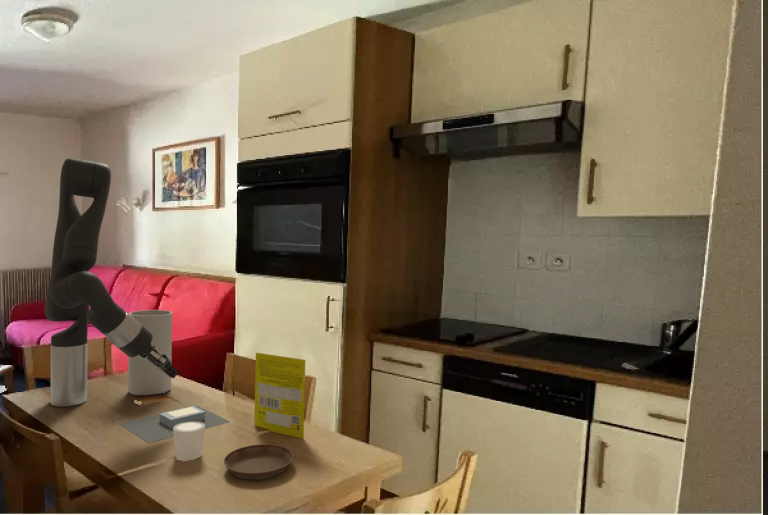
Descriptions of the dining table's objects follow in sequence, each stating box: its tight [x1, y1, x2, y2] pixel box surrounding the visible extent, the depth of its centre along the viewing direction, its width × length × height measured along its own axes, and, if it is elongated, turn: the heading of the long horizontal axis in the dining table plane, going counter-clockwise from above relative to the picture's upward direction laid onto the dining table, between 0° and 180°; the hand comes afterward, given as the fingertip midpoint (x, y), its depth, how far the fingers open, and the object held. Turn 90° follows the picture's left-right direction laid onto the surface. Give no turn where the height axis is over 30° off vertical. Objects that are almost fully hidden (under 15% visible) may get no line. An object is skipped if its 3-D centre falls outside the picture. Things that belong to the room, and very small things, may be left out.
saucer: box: [223, 443, 294, 481], centre depth 117 cm, size 15×15×3 cm
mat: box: [118, 405, 231, 444], centre depth 141 cm, size 18×22×1 cm
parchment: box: [134, 394, 181, 406], centre depth 156 cm, size 25×10×1 cm, turn 47°
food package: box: [253, 352, 306, 439], centre depth 137 cm, size 15×1×20 cm, turn 65°
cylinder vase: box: [127, 309, 173, 397], centre depth 170 cm, size 12×12×25 cm
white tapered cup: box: [173, 421, 206, 461], centre depth 122 cm, size 7×7×7 cm
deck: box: [159, 405, 205, 428], centre depth 143 cm, size 6×2×10 cm
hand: (174, 374), depth 141 cm, fingers closed
